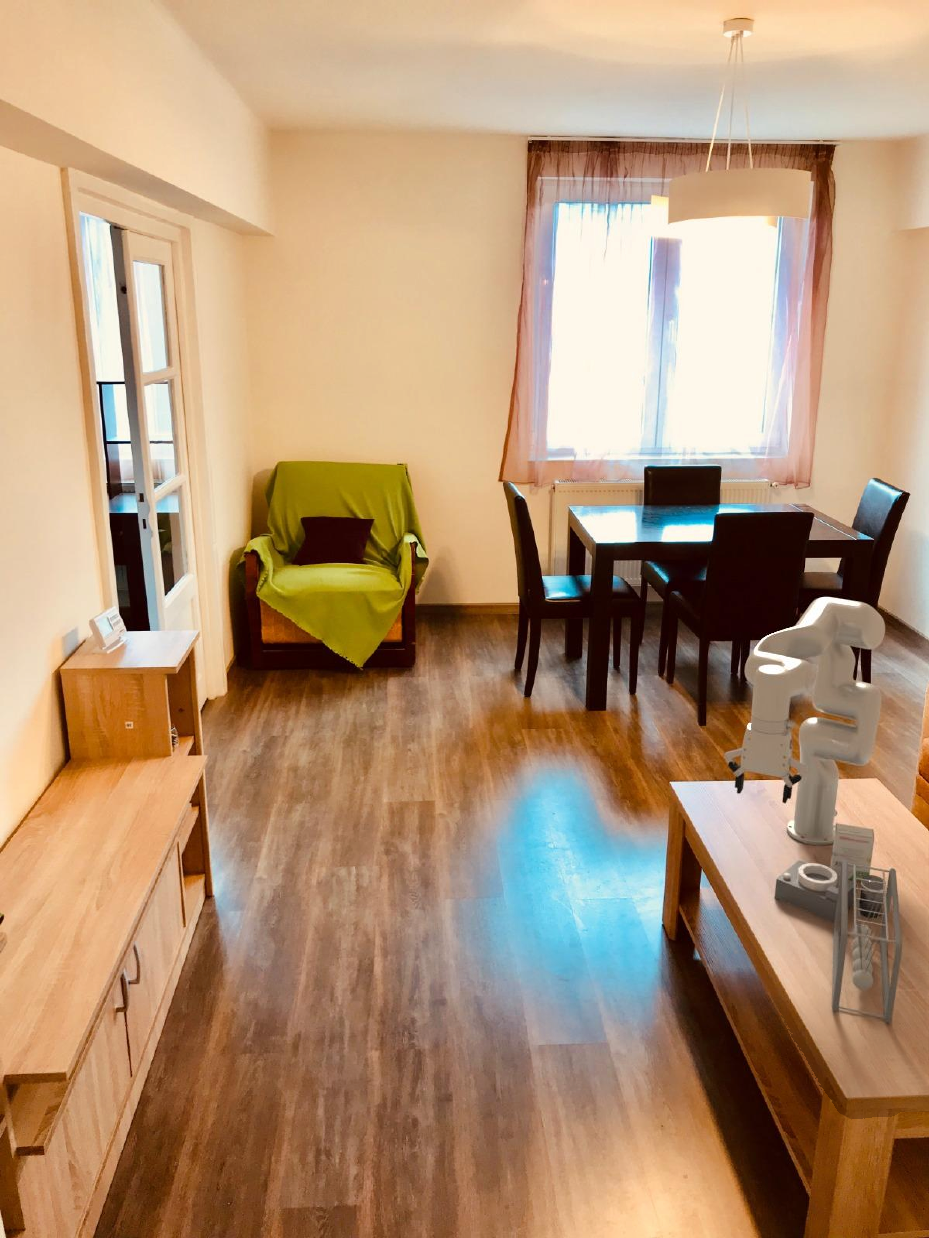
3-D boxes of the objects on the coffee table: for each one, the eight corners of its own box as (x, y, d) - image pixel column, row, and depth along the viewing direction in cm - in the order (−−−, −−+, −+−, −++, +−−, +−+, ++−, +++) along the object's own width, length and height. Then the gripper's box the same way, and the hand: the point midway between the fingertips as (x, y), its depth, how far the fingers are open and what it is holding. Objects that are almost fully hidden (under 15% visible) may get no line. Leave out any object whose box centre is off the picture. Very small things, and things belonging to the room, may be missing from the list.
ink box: (830, 876, 231) (835, 832, 227) (829, 865, 236) (835, 821, 232) (868, 882, 228) (874, 838, 225) (867, 871, 233) (873, 827, 229)
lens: (863, 902, 220) (867, 872, 218) (885, 911, 217) (889, 880, 215) (853, 912, 217) (857, 881, 215) (876, 921, 214) (880, 889, 211)
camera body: (797, 878, 230) (799, 852, 228) (854, 902, 221) (858, 875, 219) (774, 897, 223) (777, 870, 221) (833, 922, 213) (836, 895, 211)
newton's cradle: (833, 927, 212) (842, 855, 207) (885, 937, 208) (895, 864, 203) (831, 1015, 185) (841, 935, 180) (890, 1028, 182) (902, 947, 176)
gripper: (814, 724, 205) (806, 797, 210) (732, 709, 212) (726, 780, 218) (808, 737, 198) (800, 812, 203) (723, 722, 206) (718, 794, 211)
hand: (762, 795), depth 210 cm, fingers open, 9 cm apart
